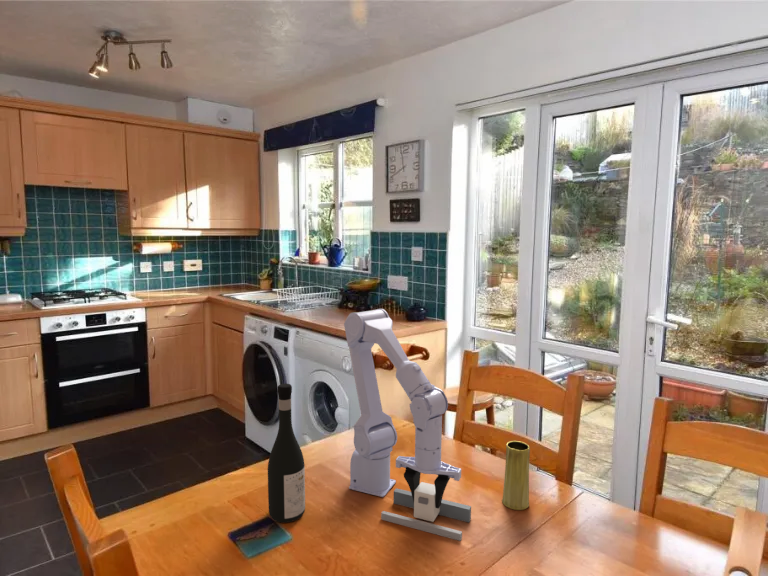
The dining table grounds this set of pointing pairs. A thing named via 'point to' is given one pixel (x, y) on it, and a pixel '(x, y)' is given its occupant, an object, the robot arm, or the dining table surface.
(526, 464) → the vase
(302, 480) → the wine bottle
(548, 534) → the dining table surface
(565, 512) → the dining table surface
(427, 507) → the cabinet block
